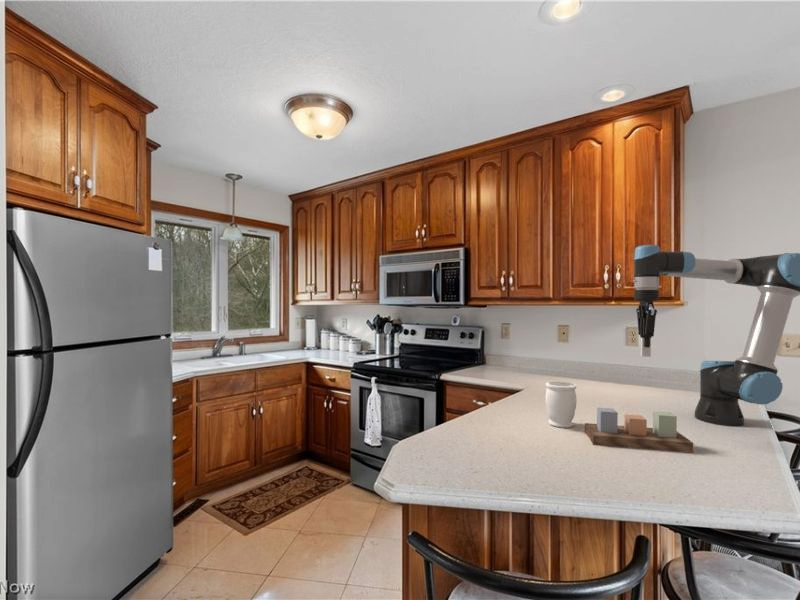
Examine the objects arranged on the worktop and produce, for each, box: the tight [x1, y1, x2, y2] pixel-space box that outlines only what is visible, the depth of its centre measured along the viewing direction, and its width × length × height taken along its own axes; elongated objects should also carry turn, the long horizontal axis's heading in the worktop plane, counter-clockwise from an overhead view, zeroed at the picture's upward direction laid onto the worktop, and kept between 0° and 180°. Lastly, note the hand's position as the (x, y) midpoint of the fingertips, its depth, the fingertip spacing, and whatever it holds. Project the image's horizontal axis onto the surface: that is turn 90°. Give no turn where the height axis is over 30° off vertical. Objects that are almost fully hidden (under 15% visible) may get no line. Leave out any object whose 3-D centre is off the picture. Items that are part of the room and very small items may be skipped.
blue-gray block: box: [596, 407, 619, 434], centre depth 136 cm, size 5×5×8 cm
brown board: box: [584, 422, 694, 454], centre depth 134 cm, size 28×13×3 cm, turn 77°
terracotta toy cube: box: [623, 413, 648, 436], centre depth 134 cm, size 5×5×8 cm
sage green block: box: [652, 410, 678, 438], centre depth 132 cm, size 5×5×8 cm
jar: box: [544, 381, 577, 429], centre depth 151 cm, size 11×10×15 cm
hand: (645, 356), depth 145 cm, fingers closed
